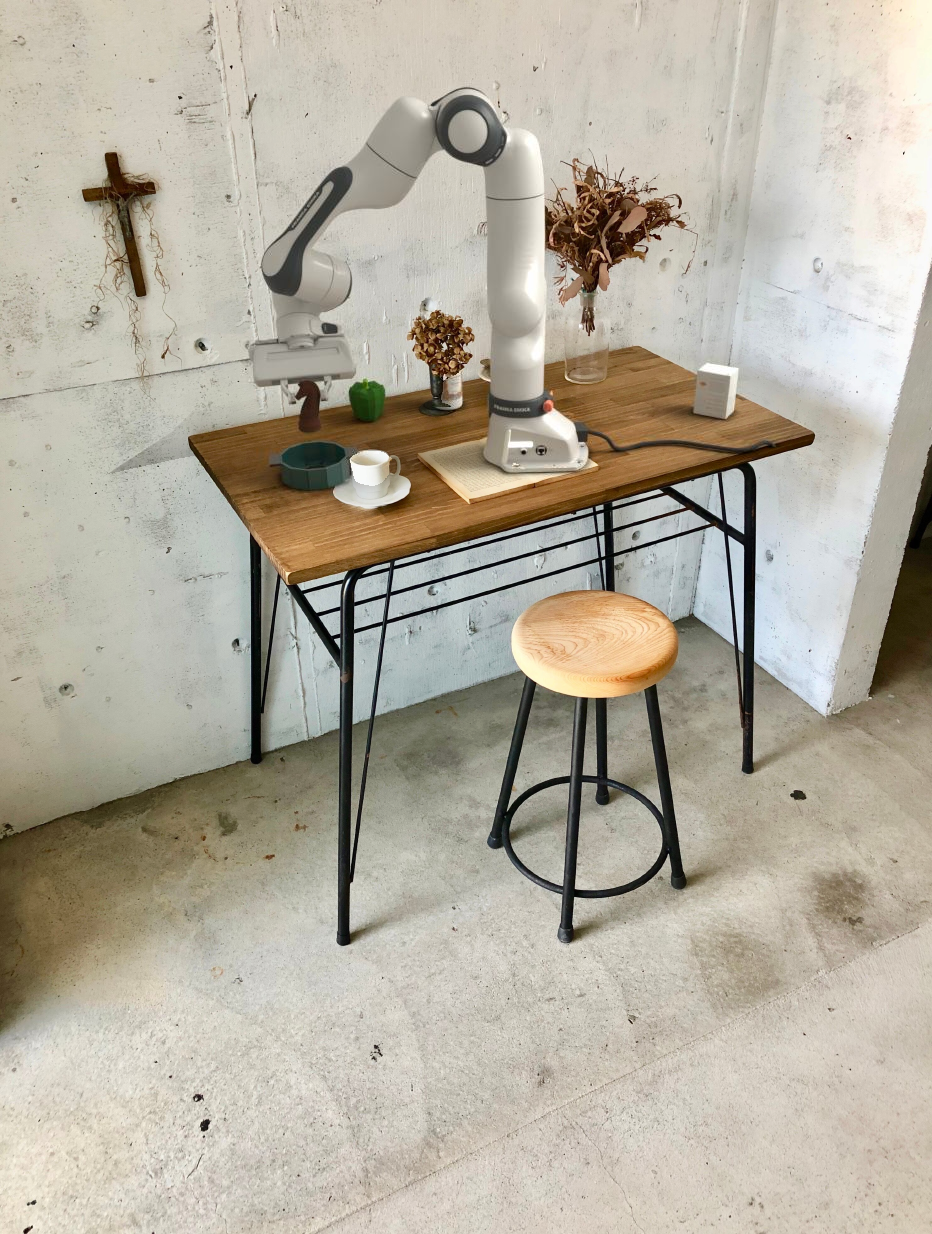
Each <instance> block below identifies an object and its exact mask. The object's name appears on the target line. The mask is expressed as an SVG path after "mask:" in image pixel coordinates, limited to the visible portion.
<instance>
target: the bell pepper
mask: <svg viewBox="0 0 932 1234" xmlns="http://www.w3.org/2000/svg"><path fill="white" fill-rule="evenodd" d="M348 400H349V403H350V407H351V410H352V413H353V415H354V416H355V418H357V419H359V420H360V421H362V422H366V423H369V422H375V421H376V420H378V419H379V418H380V417H382V415H383V413H384V409H385V403H386V388H385V386H384V384H381V383H379V382H377V381H376V380H370V381H369V380H368V378H363V379H362V382H360V381H355V382H354V383H353V385H351V386H350V387H349V389H348Z"/></svg>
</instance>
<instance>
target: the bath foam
mask: <svg viewBox="0 0 932 1234" xmlns="http://www.w3.org/2000/svg"><path fill="white" fill-rule="evenodd" d="M441 400H442V403H445V404H448V405H450V406H451V407H435V408H436V409H438V410H440V411H441V410H442V411H453V410H457V409H459V408H461V407H462V405H463V370H462V371H460V372H459V373H457V374H456V375H454V376H451V377H450V378H448V379H446V380H444V382H443V392H442V398H441Z"/></svg>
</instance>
